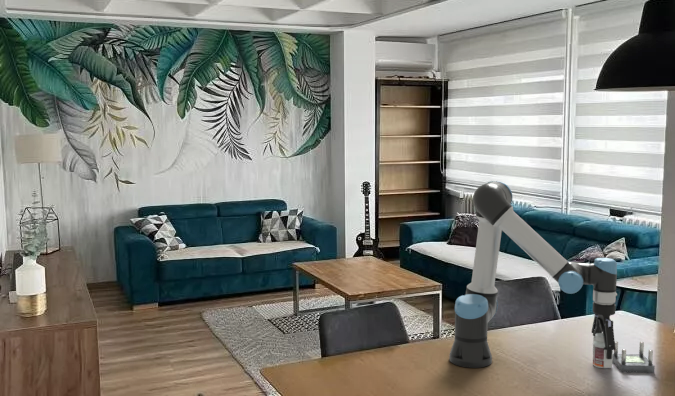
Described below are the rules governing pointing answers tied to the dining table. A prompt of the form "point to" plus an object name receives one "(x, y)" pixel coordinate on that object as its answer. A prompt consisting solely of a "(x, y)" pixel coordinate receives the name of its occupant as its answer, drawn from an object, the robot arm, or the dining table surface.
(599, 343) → the pill bottle
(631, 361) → the chassis
